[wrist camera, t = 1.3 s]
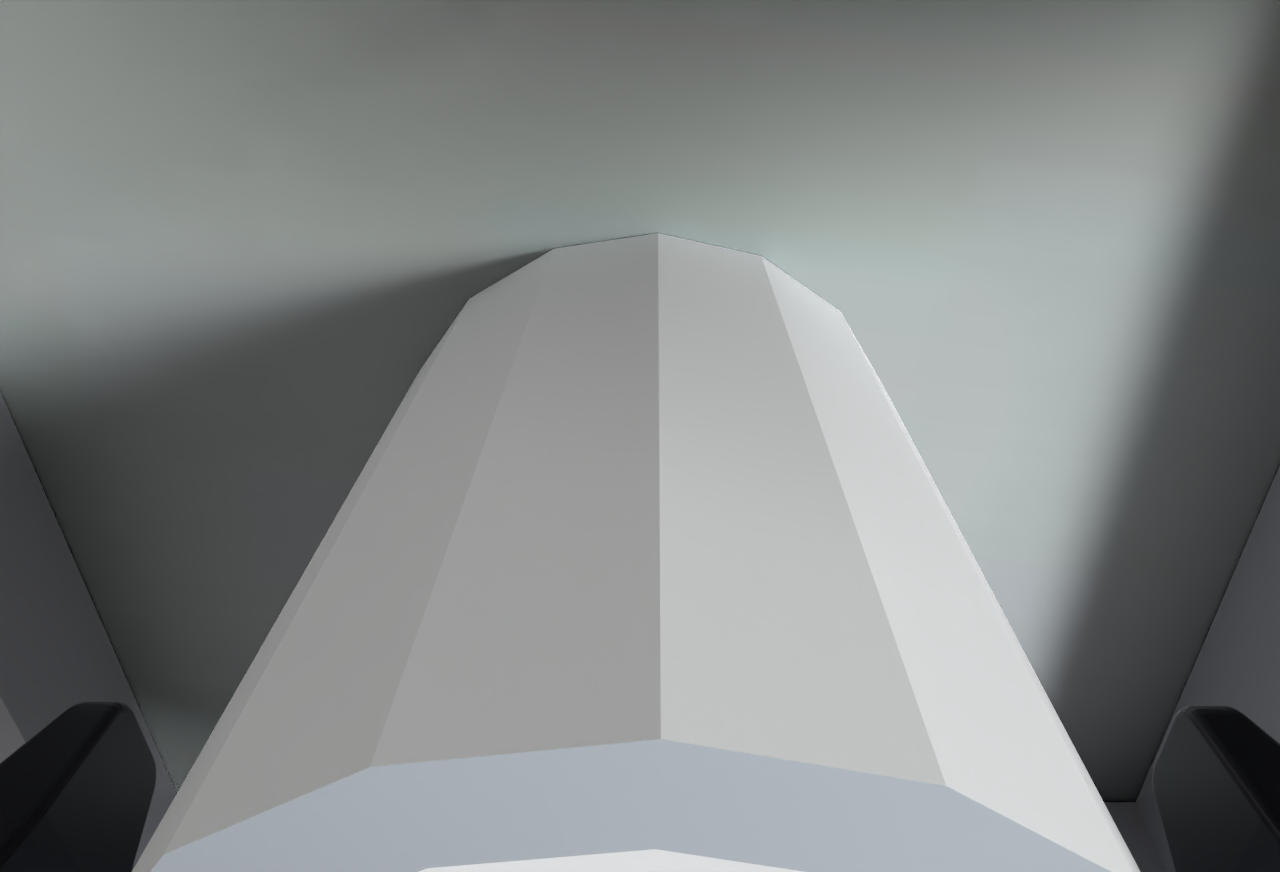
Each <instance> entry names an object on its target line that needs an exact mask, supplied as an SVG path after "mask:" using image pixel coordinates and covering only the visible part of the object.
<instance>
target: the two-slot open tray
mask: <svg viewBox="0 0 1280 872" xmlns="http://www.w3.org/2000/svg"><path fill="white" fill-rule="evenodd" d="M82 702H121V703H125V704H126V705H127V706H129V707H130V708H131V709H132V711H133V712H134V714H135V717H136V719H137V721H138V723H139V726H140V728H141V730H142V732H143V735H144V737H145V739H146V741H147V744H148V746H149V748H150V750H151V753H152V755H153V757H154V760H155V764H156V785H155V789H154V793H153V797H152V801H151V804H150V808H149V811H148V815H147V819H146V822H145V826H144V829H143V833H142V836H141V840H140V844H139V847H138V851H137V854H136V858H135V861H134V865H133V869H134V867H135V866H136V864H137V862H138V860H139V859H140V857H141V855H142V853H143V852H144V850H145V848H146V846H147V845H148V843H149V841H150V839H151V838H152V836H153V834H154V832H155V831H156V829H157V827H158V826H159V824H160V822H161V820H162V819H163V817H164V815H165V813H166V812H167V810H168V808H169V806H170V805H171V803H172V801H173V799H174V798H175V796H176V794H177V793H176V791H175V788H174V786H173V784H172V781H171V779H170V777H169V775H168V772H167V770H166V768H165V765H164V763H163V761H162V759H161V756H160V754H159V752H158V749H157V747H156V745H155V743H154V740H153V738H152V736H151V734H150V731H149V729H148V727H147V724H146V722H145V720H144V718H143V715H142V713H141V711H140V708H139V706H138V704H137V702H136V699H135V697H134V695H133V693H132V690H131V688H130V686H129V683H128V681H127V679H126V677H125V674H124V672H123V670H122V667H121V665H120V663H119V661H118V658H117V656H116V654H115V652H114V649H113V647H112V645H111V642H110V640H109V638H108V636H107V633H106V631H105V629H104V626H103V624H102V622H101V620H100V617H99V615H98V613H97V611H96V608H95V606H94V604H93V601H92V599H91V597H90V595H89V592H88V590H87V588H86V585H85V583H84V581H83V579H82V576H81V574H80V572H79V569H78V567H77V565H76V563H75V560H74V558H73V556H72V554H71V551H70V549H69V547H68V544H67V542H66V540H65V538H64V535H63V533H62V531H61V528H60V526H59V524H58V522H57V519H56V517H55V515H54V513H53V510H52V508H51V506H50V503H49V501H48V499H47V497H46V494H45V492H44V490H43V487H42V485H41V483H40V481H39V478H38V476H37V474H36V472H35V469H34V467H33V465H32V462H31V460H30V458H29V456H28V453H27V451H26V449H25V446H24V444H23V442H22V440H21V437H20V435H19V433H18V430H17V428H16V426H15V424H14V421H13V419H12V417H11V415H10V412H9V410H8V408H7V405H6V403H5V401H4V399H3V396H2V394H1V392H0V763H1V762H2V761H3V760H5V759H6V758H7V757H8V756H10V755H11V754H12V753H13V752H15V751H16V750H17V749H18V748H20V747H21V746H22V745H23V744H25V743H26V742H27V741H28V740H30V739H31V738H32V737H33V736H34V735H36V734H37V733H38V732H39V731H41V730H42V729H43V728H44V727H46V726H47V725H48V724H49V723H51V722H52V721H53V720H54V719H56V718H57V717H58V716H59V715H61V714H62V713H63V712H64V711H66V710H67V709H69V708H70V707H72V706H74V705H76V704H78V703H82ZM1185 706H1228V707H1232V708H1234V709H1236V710H1238V711H1240V712H1241V713H1243V714H1244V715H1246V716H1247V717H1248V718H1249V719H1250V720H1252V721H1253V722H1254V723H1255V724H1257V725H1258V726H1259V727H1260V728H1262V729H1263V730H1264V731H1265V732H1266V733H1268V734H1269V735H1270V736H1271V737H1273V738H1274V739H1275V740H1276V741H1278V742H1279V743H1280V466H1279V468H1278V470H1277V473H1276V475H1275V477H1274V480H1273V482H1272V484H1271V487H1270V489H1269V491H1268V494H1267V496H1266V498H1265V501H1264V503H1263V505H1262V508H1261V510H1260V512H1259V515H1258V517H1257V519H1256V522H1255V524H1254V526H1253V529H1252V531H1251V533H1250V536H1249V538H1248V540H1247V543H1246V545H1245V547H1244V550H1243V552H1242V554H1241V557H1240V559H1239V561H1238V564H1237V566H1236V568H1235V571H1234V573H1233V575H1232V578H1231V580H1230V582H1229V585H1228V587H1227V589H1226V592H1225V594H1224V596H1223V599H1222V601H1221V603H1220V606H1219V608H1218V610H1217V613H1216V615H1215V617H1214V620H1213V622H1212V624H1211V627H1210V629H1209V631H1208V634H1207V636H1206V638H1205V641H1204V643H1203V645H1202V648H1201V650H1200V652H1199V655H1198V657H1197V659H1196V662H1195V664H1194V666H1193V669H1192V671H1191V673H1190V676H1189V678H1188V680H1187V683H1186V685H1185V687H1184V690H1183V692H1182V694H1181V697H1180V699H1179V701H1178V704H1177V706H1176V708H1175V711H1174V713H1173V716H1172V718H1171V720H1170V723H1169V725H1168V727H1167V730H1166V732H1165V734H1164V737H1163V739H1162V741H1161V744H1160V746H1159V748H1158V751H1157V753H1156V755H1155V758H1154V760H1153V762H1152V765H1151V767H1150V769H1149V772H1148V774H1147V776H1146V779H1145V781H1144V783H1143V786H1142V788H1141V790H1140V793H1139V795H1138V797H1137V800H1136V802H1104V804H1105V805H1106V807H1107V809H1108V811H1109V813H1110V815H1111V817H1112V819H1113V821H1114V822H1115V824H1116V826H1117V828H1118V830H1119V832H1120V834H1121V836H1122V838H1123V839H1124V841H1125V843H1126V845H1127V847H1128V849H1129V851H1130V853H1131V855H1132V856H1133V858H1134V860H1135V862H1136V864H1137V866H1138V868H1139V870H1140V872H1175V869H1174V866H1173V862H1172V858H1171V855H1170V851H1169V847H1168V844H1167V840H1166V836H1165V833H1164V829H1163V825H1162V822H1161V818H1160V814H1159V811H1158V807H1157V804H1156V800H1155V796H1154V792H1153V784H1152V773H1153V767H1154V763H1155V761H1156V758H1157V756H1158V754H1159V751H1160V749H1161V747H1162V744H1163V742H1164V740H1165V737H1166V735H1167V733H1168V730H1169V728H1170V726H1171V723H1172V721H1173V719H1174V717H1175V715H1176V713H1177V712H1178V711H1179V710H1180V709H1182V708H1183V707H1185ZM133 869H132V871H133Z"/></svg>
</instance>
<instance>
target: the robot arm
mask: <svg viewBox="0 0 1280 872" xmlns="http://www.w3.org/2000/svg"><path fill="white" fill-rule="evenodd" d="M1152 784H1153V792H1154V796H1155V800H1156V804H1157V807H1158V811H1159V814H1160V818H1161V822H1162V825H1163V829H1164V833H1165V836H1166V840H1167V844H1168V847H1169V851H1170V855H1171V858H1172V862H1173V866H1174V869H1175V872H1280V743H1279V742H1278V741H1276V740H1275V739H1274V738H1273V737H1271V736H1270V735H1269V734H1268V733H1266V732H1265V731H1264V730H1263V729H1262V728H1260V727H1259V726H1258V725H1257V724H1255V723H1254V722H1253V721H1252V720H1250V719H1249V718H1248V717H1247V716H1246V715H1244V714H1243V713H1241V712H1240V711H1238V710H1236V709H1234V708H1232V707H1228V706H1185V707H1183V708H1182V709H1180V710H1179V711H1178V712H1177V713H1176V715H1175V717H1174V719H1173V721H1172V723H1171V726H1170V728H1169V730H1168V733H1167V735H1166V737H1165V740H1164V742H1163V744H1162V747H1161V749H1160V751H1159V754H1158V756H1157V758H1156V761H1155V763H1154V767H1153V773H1152ZM155 785H156V764H155V760H154V757H153V755H152V753H151V750H150V748H149V746H148V744H147V741H146V739H145V737H144V735H143V732H142V730H141V728H140V726H139V723H138V721H137V719H136V717H135V714H134V712H133V711H132V709H131V708H130V707H129V706H127V705H126V704H125V703H121V702H82V703H78V704H76V705H74V706H72V707H70V708H69V709H67V710H66V711H64V712H63V713H62V714H61V715H59V716H58V717H57V718H56V719H54V720H53V721H52V722H51V723H49V724H48V725H47V726H46V727H44V728H43V729H42V730H41V731H39V732H38V733H37V734H36V735H34V736H33V737H32V738H31V739H30V740H28V741H27V742H26V743H25V744H23V745H22V746H21V747H20V748H18V749H17V750H16V751H15V752H13V753H12V754H11V755H10V756H8V757H7V758H6V759H5V760H3V761H2V762H1V763H0V872H132V869H133V865H134V861H135V858H136V854H137V851H138V847H139V844H140V840H141V836H142V833H143V829H144V826H145V822H146V819H147V815H148V811H149V808H150V804H151V801H152V797H153V793H154V789H155Z"/></svg>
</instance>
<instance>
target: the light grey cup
mask: <svg viewBox="0 0 1280 872" xmlns="http://www.w3.org/2000/svg"><path fill="white" fill-rule="evenodd" d="M132 872H1140V870H1139V868H1138V866H1137V864H1136V862H1135V860H1134V858H1133V856H1132V855H1131V853H1130V851H1129V849H1128V847H1127V845H1126V843H1125V841H1124V839H1123V838H1122V836H1121V834H1120V832H1119V830H1118V828H1117V826H1116V824H1115V822H1114V821H1113V819H1112V817H1111V815H1110V813H1109V811H1108V809H1107V807H1106V805H1105V804H1104V802H1103V800H1102V798H1101V796H1100V794H1099V792H1098V790H1097V788H1096V787H1095V785H1094V783H1093V781H1092V779H1091V777H1090V775H1089V773H1088V771H1087V770H1086V768H1085V766H1084V764H1083V762H1082V760H1081V758H1080V756H1079V754H1078V753H1077V751H1076V749H1075V747H1074V745H1073V743H1072V741H1071V739H1070V737H1069V736H1068V734H1067V732H1066V730H1065V728H1064V726H1063V724H1062V722H1061V720H1060V719H1059V717H1058V715H1057V713H1056V711H1055V709H1054V707H1053V705H1052V703H1051V702H1050V700H1049V698H1048V696H1047V694H1046V692H1045V690H1044V688H1043V686H1042V685H1041V683H1040V681H1039V679H1038V677H1037V675H1036V673H1035V671H1034V669H1033V668H1032V666H1031V664H1030V662H1029V660H1028V658H1027V656H1026V654H1025V652H1024V651H1023V649H1022V647H1021V645H1020V643H1019V641H1018V639H1017V637H1016V635H1015V634H1014V632H1013V630H1012V628H1011V626H1010V624H1009V622H1008V620H1007V618H1006V617H1005V615H1004V613H1003V611H1002V609H1001V607H1000V605H999V603H998V601H997V600H996V598H995V596H994V594H993V592H992V590H991V588H990V586H989V584H988V583H987V581H986V579H985V577H984V575H983V573H982V571H981V569H980V567H979V566H978V564H977V562H976V560H975V558H974V556H973V554H972V552H971V550H970V549H969V547H968V545H967V543H966V541H965V539H964V537H963V535H962V533H961V532H960V530H959V528H958V526H957V524H956V522H955V520H954V518H953V516H952V515H951V513H950V511H949V509H948V507H947V505H946V503H945V501H944V499H943V498H942V496H941V494H940V492H939V490H938V488H937V486H936V484H935V482H934V481H933V479H932V477H931V475H930V473H929V471H928V469H927V467H926V465H925V464H924V462H923V460H922V458H921V456H920V454H919V452H918V450H917V448H916V447H915V445H914V443H913V441H912V439H911V437H910V435H909V433H908V431H907V430H906V428H905V426H904V424H903V422H902V420H901V418H900V416H899V414H898V413H897V411H896V409H895V407H894V405H893V403H892V401H891V399H890V397H889V396H888V394H887V392H886V390H885V388H884V386H883V384H882V383H881V381H880V379H879V377H878V376H877V374H876V372H875V370H874V369H873V367H872V365H871V364H870V362H869V360H868V358H867V357H866V355H865V353H864V351H863V350H862V348H861V346H860V344H859V343H858V341H857V339H856V337H855V336H854V334H853V332H852V330H851V329H850V327H849V325H848V324H847V322H846V320H845V318H844V317H843V315H842V313H841V311H839V310H838V309H837V308H835V307H834V306H832V305H831V304H829V303H828V302H826V301H825V300H824V299H822V298H821V297H819V296H818V295H816V294H815V293H814V292H812V291H811V290H809V289H808V288H806V287H805V286H803V285H802V284H801V283H799V282H798V281H796V280H795V279H793V278H792V277H791V276H789V275H788V274H786V273H785V272H783V271H782V270H780V269H779V268H778V267H776V266H775V265H773V264H772V263H770V262H769V261H768V260H766V259H765V258H763V257H762V256H759V255H755V254H750V253H746V252H741V251H737V250H732V249H728V248H723V247H719V246H714V245H710V244H705V243H701V242H696V241H692V240H687V239H683V238H678V237H674V236H669V235H665V234H660V233H655V234H648V235H642V236H635V237H628V238H622V239H615V240H608V241H602V242H595V243H588V244H582V245H575V246H568V247H561V248H555V249H552V250H550V251H549V252H547V253H545V254H544V255H542V256H540V257H539V258H537V259H535V260H534V261H532V262H530V263H528V264H527V265H525V266H523V267H522V268H520V269H518V270H517V271H515V272H513V273H511V274H510V275H508V276H506V277H505V278H503V279H501V280H500V281H498V282H496V283H495V284H493V285H491V286H489V287H488V288H486V289H484V290H483V291H481V292H479V293H478V294H476V295H474V296H473V297H471V298H469V300H468V301H467V303H466V304H465V305H464V307H463V308H462V310H461V311H460V313H459V314H458V316H457V317H456V318H455V320H454V321H453V323H452V324H451V326H450V327H449V329H448V330H447V331H446V333H445V334H444V336H443V337H442V339H441V340H440V342H439V343H438V345H437V346H436V347H435V349H434V350H433V352H432V353H431V355H430V356H429V358H428V359H427V360H426V362H425V363H424V365H423V366H422V368H421V369H420V371H419V373H418V374H417V376H416V378H415V380H414V381H413V383H412V385H411V387H410V388H409V390H408V392H407V393H406V395H405V397H404V399H403V400H402V402H401V404H400V406H399V407H398V409H397V411H396V413H395V414H394V416H393V418H392V420H391V421H390V423H389V425H388V427H387V428H386V430H385V432H384V434H383V435H382V437H381V439H380V441H379V442H378V444H377V446H376V447H375V449H374V451H373V453H372V454H371V456H370V458H369V460H368V461H367V463H366V465H365V467H364V468H363V470H362V472H361V474H360V475H359V477H358V479H357V481H356V482H355V484H354V486H353V488H352V489H351V491H350V493H349V495H348V496H347V498H346V500H345V501H344V503H343V505H342V507H341V508H340V510H339V512H338V514H337V515H336V517H335V519H334V521H333V522H332V524H331V526H330V528H329V529H328V531H327V533H326V535H325V536H324V538H323V540H322V542H321V543H320V545H319V547H318V549H317V550H316V552H315V554H314V555H313V557H312V559H311V561H310V562H309V564H308V566H307V568H306V569H305V571H304V573H303V575H302V576H301V578H300V580H299V582H298V583H297V585H296V587H295V589H294V590H293V592H292V594H291V596H290V597H289V599H288V601H287V603H286V604H285V606H284V608H283V609H282V611H281V613H280V615H279V616H278V618H277V620H276V622H275V623H274V625H273V627H272V629H271V630H270V632H269V634H268V636H267V637H266V639H265V641H264V643H263V644H262V646H261V648H260V650H259V651H258V653H257V655H256V657H255V658H254V660H253V662H252V663H251V665H250V667H249V669H248V670H247V672H246V674H245V676H244V677H243V679H242V681H241V683H240V684H239V686H238V688H237V690H236V691H235V693H234V695H233V697H232V698H231V700H230V702H229V704H228V705H227V707H226V709H225V711H224V712H223V714H222V716H221V718H220V719H219V721H218V723H217V724H216V726H215V728H214V730H213V731H212V733H211V735H210V737H209V738H208V740H207V742H206V744H205V745H204V747H203V749H202V751H201V752H200V754H199V756H198V758H197V759H196V761H195V763H194V765H193V766H192V768H191V770H190V772H189V773H188V775H187V777H186V778H185V780H184V782H183V784H182V785H181V787H180V789H179V791H178V792H177V794H176V796H175V798H174V799H173V801H172V803H171V805H170V806H169V808H168V810H167V812H166V813H165V815H164V817H163V819H162V820H161V822H160V824H159V826H158V827H157V829H156V831H155V832H154V834H153V836H152V838H151V839H150V841H149V843H148V845H147V846H146V848H145V850H144V852H143V853H142V855H141V857H140V859H139V860H138V862H137V864H136V866H135V867H134V869H133V871H132Z"/></svg>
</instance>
